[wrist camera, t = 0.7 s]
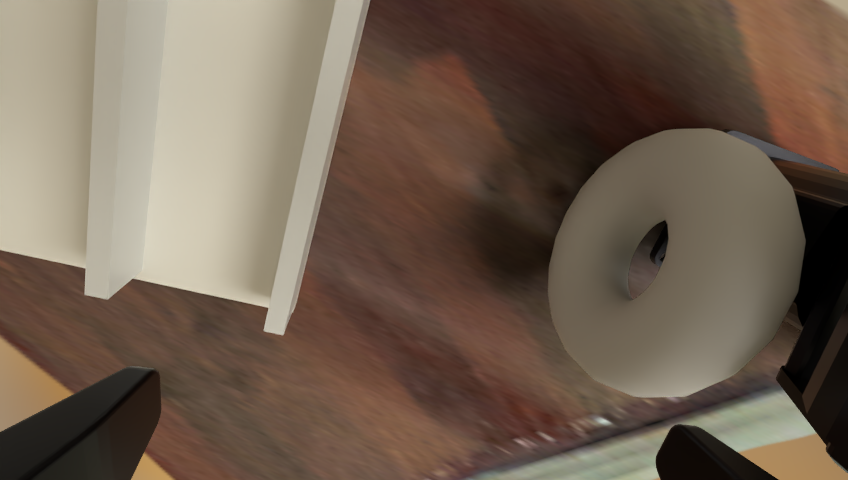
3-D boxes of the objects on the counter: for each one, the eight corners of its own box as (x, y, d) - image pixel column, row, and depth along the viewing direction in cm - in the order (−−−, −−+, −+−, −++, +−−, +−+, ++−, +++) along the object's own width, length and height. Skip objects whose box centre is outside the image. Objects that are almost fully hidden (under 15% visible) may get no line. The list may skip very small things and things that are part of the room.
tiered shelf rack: (394, -98, 15) (397, -144, 12) (296, 302, 21) (280, 345, 18) (-67, -295, 12) (-227, -425, 9) (-35, 229, 18) (-126, 264, 15)
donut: (568, 310, 22) (699, 478, 13) (511, 292, 22) (607, 458, 13) (670, 129, 19) (936, 186, 10) (606, 102, 18) (830, 135, 9)
